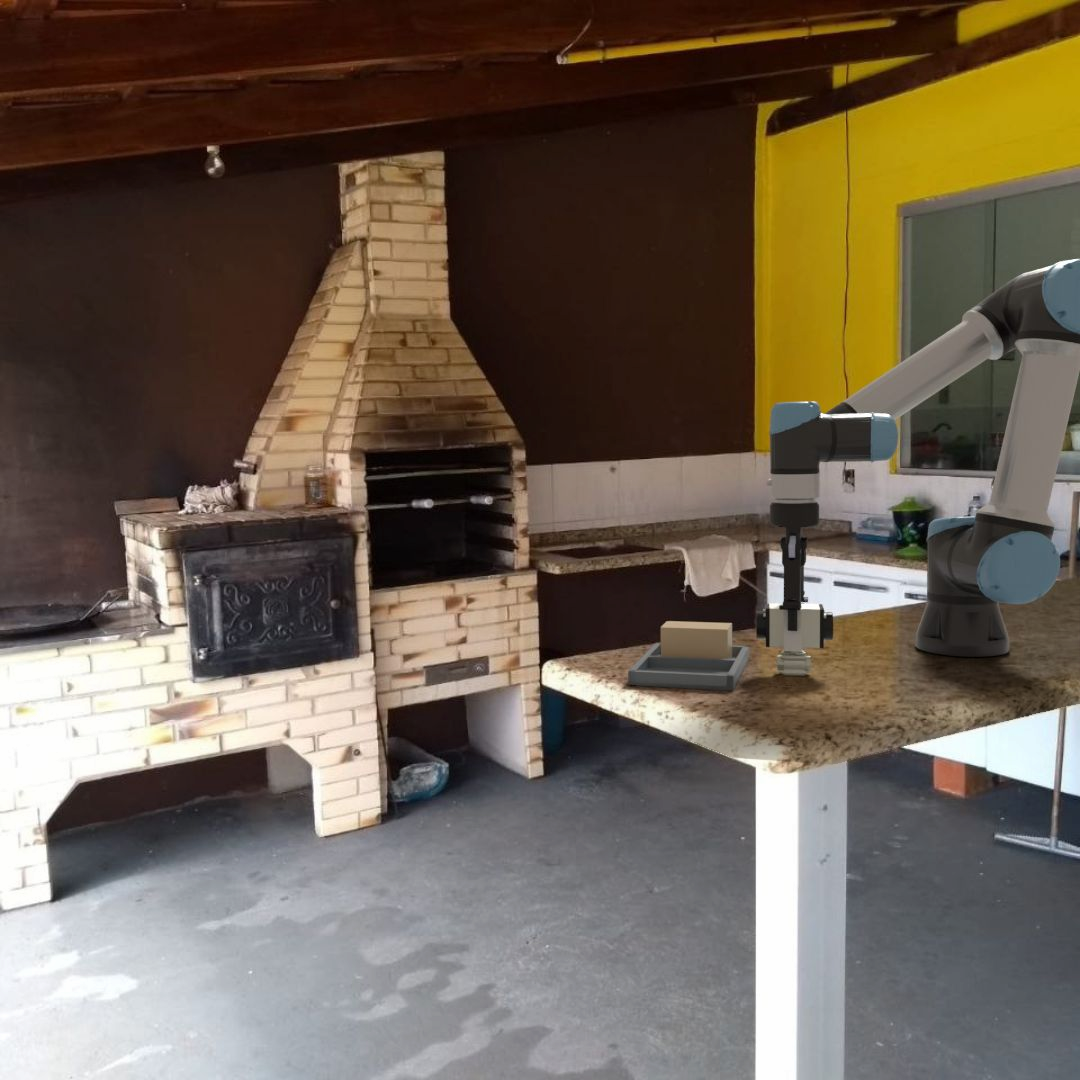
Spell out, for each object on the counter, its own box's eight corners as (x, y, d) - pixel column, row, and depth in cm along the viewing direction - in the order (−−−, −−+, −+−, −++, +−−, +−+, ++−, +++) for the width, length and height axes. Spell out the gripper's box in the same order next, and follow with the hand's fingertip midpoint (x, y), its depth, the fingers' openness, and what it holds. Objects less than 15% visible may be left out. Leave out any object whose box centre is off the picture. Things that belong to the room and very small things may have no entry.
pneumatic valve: (833, 678, 163) (833, 602, 162) (756, 676, 166) (756, 601, 164) (830, 670, 169) (831, 596, 167) (756, 668, 171) (756, 595, 170)
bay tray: (749, 658, 179) (749, 620, 178) (733, 690, 157) (733, 647, 156) (656, 654, 183) (655, 617, 183) (628, 685, 161) (627, 643, 161)
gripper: (774, 497, 174) (774, 635, 177) (764, 504, 157) (764, 657, 159) (821, 497, 172) (820, 636, 174) (816, 504, 155) (815, 659, 157)
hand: (793, 646), depth 167 cm, fingers closed on pneumatic valve, 5 cm apart
